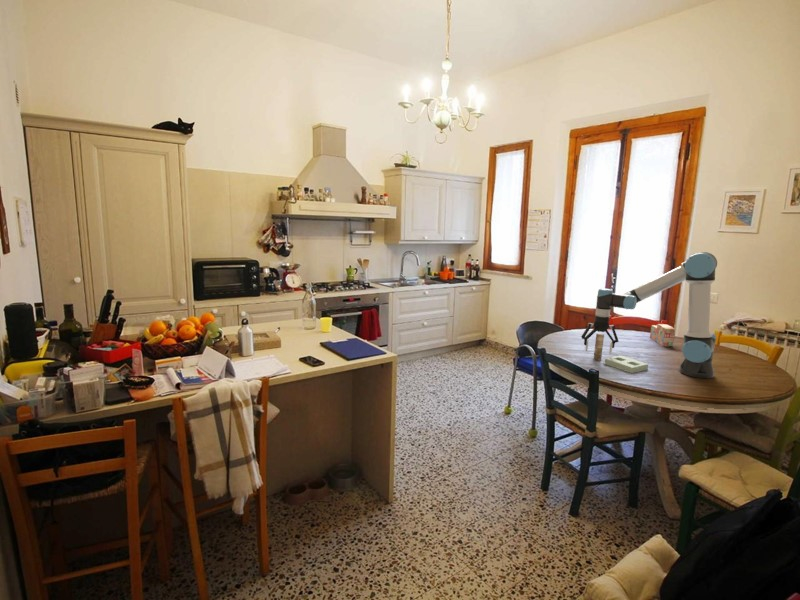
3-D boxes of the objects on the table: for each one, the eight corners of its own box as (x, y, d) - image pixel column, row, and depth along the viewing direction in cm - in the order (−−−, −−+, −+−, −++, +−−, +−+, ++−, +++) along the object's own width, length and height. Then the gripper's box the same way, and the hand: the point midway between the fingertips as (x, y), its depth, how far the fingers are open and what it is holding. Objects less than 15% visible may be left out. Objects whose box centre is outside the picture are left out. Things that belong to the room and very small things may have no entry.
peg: (602, 359, 239) (605, 334, 236) (598, 360, 237) (601, 335, 235) (596, 357, 243) (599, 333, 240) (591, 358, 241) (594, 333, 238)
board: (647, 369, 225) (648, 364, 224) (631, 373, 219) (632, 367, 218) (620, 360, 239) (621, 355, 238) (604, 363, 233) (605, 358, 232)
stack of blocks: (649, 337, 291) (651, 320, 289) (659, 338, 290) (661, 321, 288) (662, 346, 270) (665, 328, 268) (673, 347, 269) (675, 328, 267)
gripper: (624, 316, 235) (620, 352, 239) (578, 312, 242) (575, 347, 246) (627, 319, 228) (622, 356, 232) (580, 315, 235) (576, 351, 239)
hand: (598, 352), depth 239 cm, fingers open, 12 cm apart
